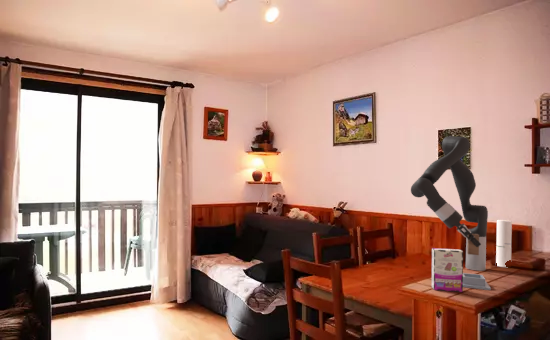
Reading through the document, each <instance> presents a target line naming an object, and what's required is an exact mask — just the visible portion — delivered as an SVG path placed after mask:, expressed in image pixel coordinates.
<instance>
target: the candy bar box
mask: <svg viewBox="0 0 550 340" xmlns="http://www.w3.org/2000/svg"><path fill="white" fill-rule="evenodd" d="M463 273H464V251H463V250H462V249H456V248H455V249H454V248H440V247H439V248H435V247H432V248H431V288H432V289H433V290H434V291H439V292H442V291H443V292H456V293H457V292H458V293H463V291H464V287H463Z"/></svg>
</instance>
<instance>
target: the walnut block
mask: <svg viewBox="0 0 550 340" xmlns="http://www.w3.org/2000/svg"><path fill="white" fill-rule="evenodd" d="M472 235H474V237H475V238H476V239H477V240H478V241H479V235H478V234H472ZM469 236H470V234H469V235H468V237H469ZM467 253H468V254H471V255H479V247H476V246H475V245H474V244H473V243H472V242H471V241H470V240H468V243H467Z"/></svg>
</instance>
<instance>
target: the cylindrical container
mask: <svg viewBox="0 0 550 340" xmlns="http://www.w3.org/2000/svg"><path fill="white" fill-rule="evenodd" d="M512 226H513V221H512V220H505V219H497V220H496V240H495V241H496V244H495V245H496V246H495V247H496V251H495V253H496V255H495V264H496V263H497V267H500V268H507V267H506V265H505V263H506V262H507V261H509V260H511V261H512V235H513V234H512V232H513V230H512V229H513V227H512Z"/></svg>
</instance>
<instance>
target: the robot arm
mask: <svg viewBox="0 0 550 340" xmlns="http://www.w3.org/2000/svg"><path fill="white" fill-rule="evenodd" d="M470 145H471V144H470V141H469V138H468V137H466V136H454V135H453V136H452V135H451V136H445V137H444V138H443V140H442V142H441V148H442V152H443V154H444V155H443V156H442V157H439V158H438V159H436V160H435V161H433V162H432V163H431V164H429V166H428V167H427V168H426V169H425V170H424V172H423V173H422V174H421V175H420V177H419V178H418V179H416V181H414V183H412V185H411V187H410V193H411V195H412V196H413V197H415V198H423V197H425V198H426V199H427V200H426V206H428V208H430V210H431V211H432V212H434V214H435V215H436V217H437V218H439V219H440V221H441V222H443V224H444V225H445V226H446V227H447V228H448V229H452V228H454V227H456V228H455V229H456V231H457V232H458V233H460V234H461V235H462V236H463V237H464V238H466V239H465V240H466V243H465V245H466V247H465V268H466V269H468V270H471V271H472V270H473V271H486V268H487V267H486V265H487V264H486V262H487V261H486V260H487V258H486V257H487V255H486V254H487V249H486V248H487V231H488V219H489V217H488V216H489V213H488V212H489V211H488V208H487V206H486V205H481V204H480V205H479V204H471V200H470V199H471V197H472V195H473V194H474V191H475V190H476V183H477V182H476V179H475V176H474V173H473V172H472V170H471V169H470V168H469V167H468V166H467V165H466V164H465V163H464V162H463V161H462V160H461V159H462V158H463V157H464V156H465V155H467V153H468V151H470ZM449 168H450V171H451V174H452V178H453V182H454V185H455V188H456V191H457V193H458V197H459V202H460V206H461V210H462V215H461V213H460V212H459V211H457V210H456V209H455V208H454V207H453V206H452V205H451V203H448V202H447V201H446V200H445V199H444V198H443V196H441V195H440V193H439V191H438V190H437V187H436V186H435V184H436V183H437V182H438V181H439V180H440V178H442V176H443V175H444V174H445V173H446V172H447V170H448V169H449ZM463 218H464V220H465V221H466V222H468V223H475V224H477V226H475V227H473V228H468V227H467V226H466V225H465V223H461V221H462V220H463ZM469 234H470V236H469V237H468V235H469ZM472 234H478V235H479V241H478V240H477V239H476V238H475V237H474V235H472ZM468 240H470V241H471V242H472V243H473V244H474V245H475V246H476V247H479V255H471V254H468V253H467V243H468Z"/></svg>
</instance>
